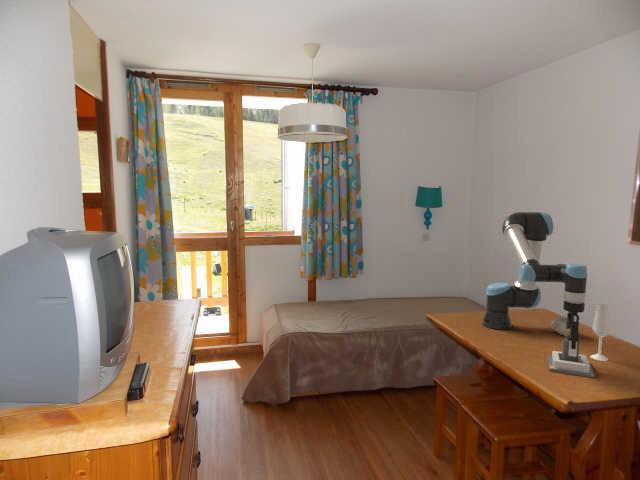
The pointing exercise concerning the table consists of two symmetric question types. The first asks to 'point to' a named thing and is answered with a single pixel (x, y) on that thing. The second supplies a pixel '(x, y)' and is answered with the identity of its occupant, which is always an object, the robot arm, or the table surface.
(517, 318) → the table surface
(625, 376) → the table surface
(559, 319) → the teacup
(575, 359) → the bottle
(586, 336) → the table surface
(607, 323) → the champagne flute
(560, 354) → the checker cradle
